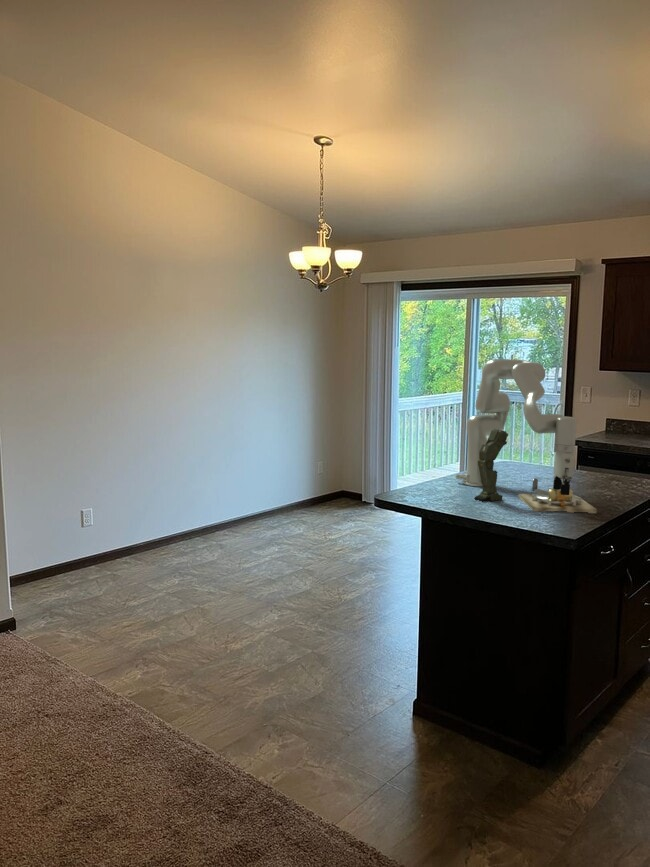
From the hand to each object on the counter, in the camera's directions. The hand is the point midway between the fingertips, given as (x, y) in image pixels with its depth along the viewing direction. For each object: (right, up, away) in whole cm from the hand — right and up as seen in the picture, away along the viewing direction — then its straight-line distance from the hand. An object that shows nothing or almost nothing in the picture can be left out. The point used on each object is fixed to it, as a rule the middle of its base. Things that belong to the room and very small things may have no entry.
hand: (560, 491), depth 265 cm
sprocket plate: (0, -6, +7) cm, 9 cm away
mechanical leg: (-24, -4, +14) cm, 28 cm away
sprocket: (0, -4, +7) cm, 8 cm away
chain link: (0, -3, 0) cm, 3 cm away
